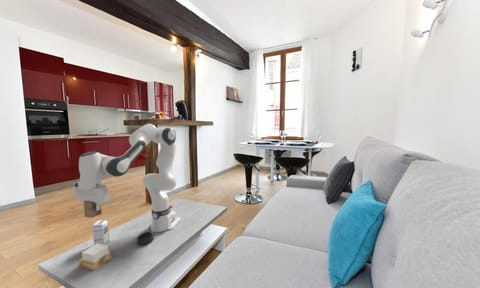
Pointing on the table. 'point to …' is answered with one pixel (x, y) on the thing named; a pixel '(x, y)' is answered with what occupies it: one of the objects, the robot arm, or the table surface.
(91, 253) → the off-white top block
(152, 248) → the table surface
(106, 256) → the oak base block
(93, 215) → the walnut block
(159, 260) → the table surface
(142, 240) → the smart speaker
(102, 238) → the syrup box
